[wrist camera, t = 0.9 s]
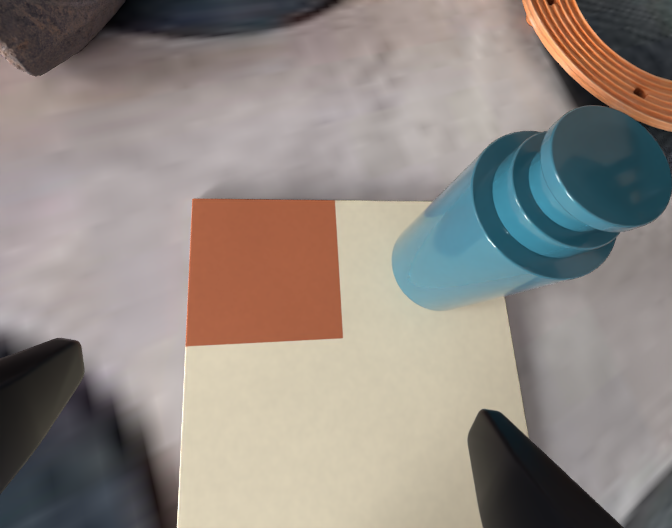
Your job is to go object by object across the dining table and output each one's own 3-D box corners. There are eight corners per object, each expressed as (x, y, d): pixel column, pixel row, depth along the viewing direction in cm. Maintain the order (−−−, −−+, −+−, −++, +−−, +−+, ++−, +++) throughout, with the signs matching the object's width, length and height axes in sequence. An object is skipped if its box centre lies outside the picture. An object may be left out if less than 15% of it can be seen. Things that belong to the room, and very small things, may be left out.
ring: (485, 84, 28) (504, 59, 26) (526, -112, 35) (544, -146, 33) (760, 186, 30) (801, 172, 27) (746, -20, 37) (778, -45, 34)
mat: (539, 521, 20) (544, 524, 20) (176, 575, 17) (174, 580, 17) (485, 204, 25) (488, 201, 25) (193, 201, 22) (192, 198, 22)
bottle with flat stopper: (487, 309, 23) (727, 258, 11) (396, 313, 22) (542, 262, 10) (473, 220, 24) (669, 84, 12) (387, 219, 23) (504, 71, 11)
